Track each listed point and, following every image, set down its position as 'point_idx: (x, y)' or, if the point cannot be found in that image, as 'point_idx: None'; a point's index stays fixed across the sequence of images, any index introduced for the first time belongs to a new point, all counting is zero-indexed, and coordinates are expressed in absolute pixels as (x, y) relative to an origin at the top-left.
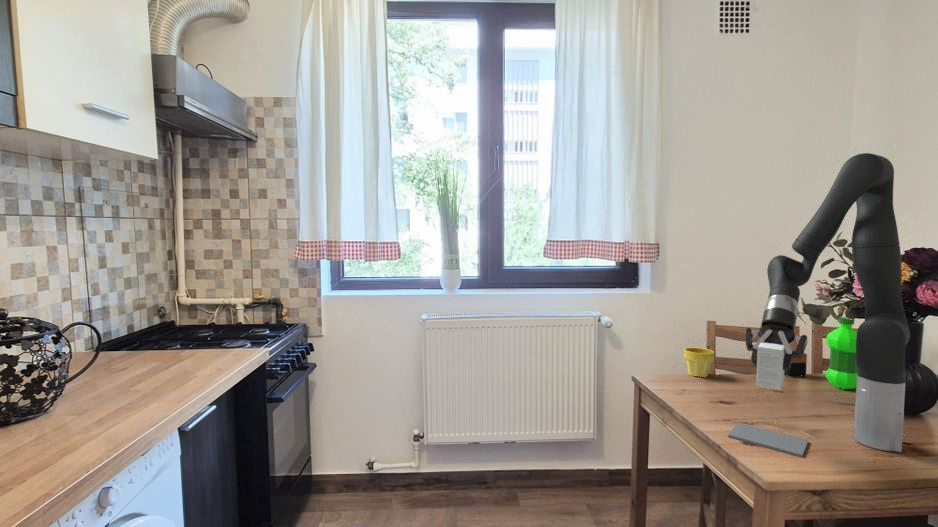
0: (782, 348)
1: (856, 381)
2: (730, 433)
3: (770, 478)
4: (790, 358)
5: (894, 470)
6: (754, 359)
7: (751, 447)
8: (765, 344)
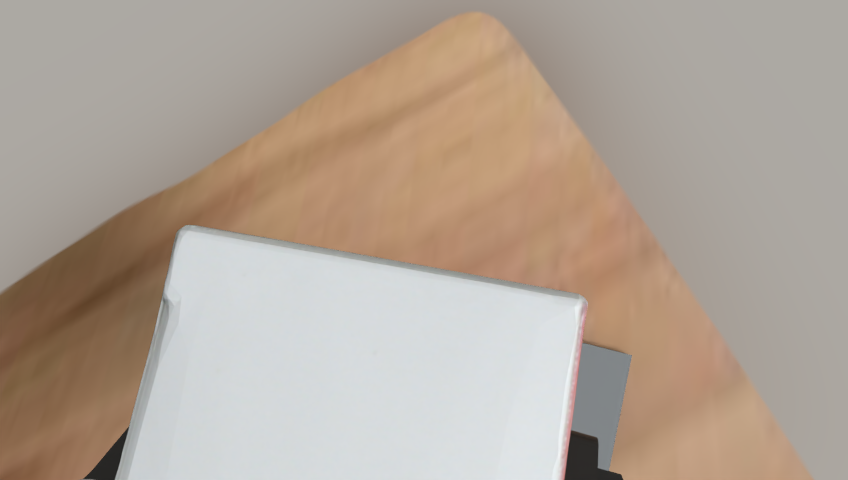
0: (152, 386)
1: None
2: (622, 377)
3: (472, 21)
4: (122, 443)
5: (28, 332)
6: (585, 448)
7: (526, 278)
8: None
